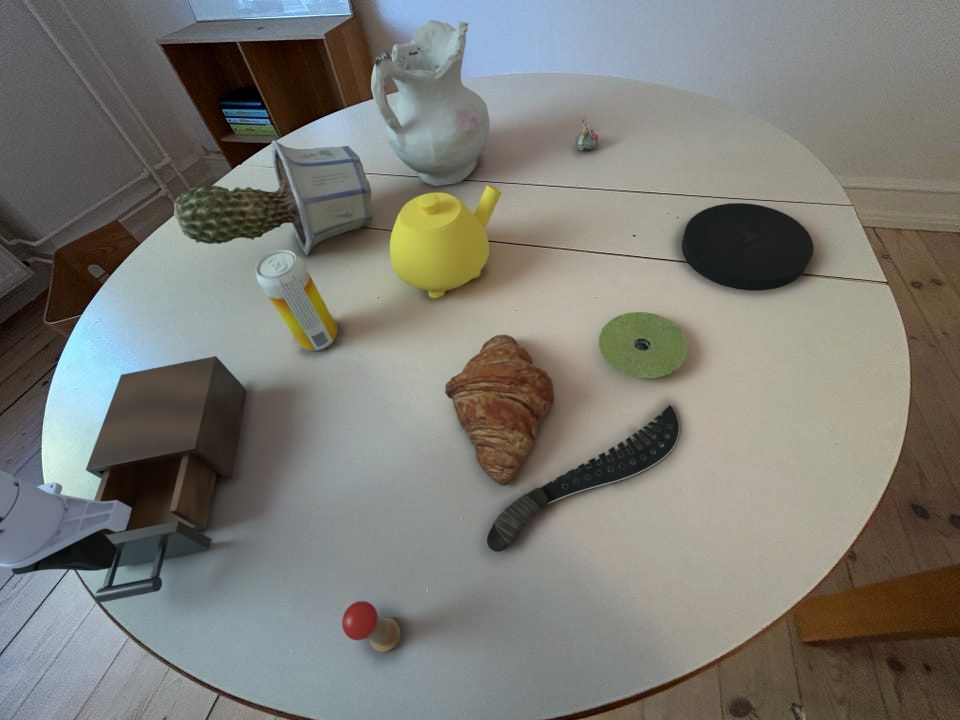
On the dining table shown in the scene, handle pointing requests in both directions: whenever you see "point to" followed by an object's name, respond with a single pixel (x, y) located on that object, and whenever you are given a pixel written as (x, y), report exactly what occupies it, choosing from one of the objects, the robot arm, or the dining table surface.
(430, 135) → the ceramic pitcher
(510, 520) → the knife
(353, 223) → the potted plant
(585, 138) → the figurine
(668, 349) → the green disc
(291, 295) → the yellow two-tone cylinder
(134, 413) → the cabinet
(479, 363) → the pastry
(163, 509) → the drawer
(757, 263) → the wireless charger
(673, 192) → the dining table surface
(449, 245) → the teapot
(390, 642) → the flanged wooden peg
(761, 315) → the dining table surface
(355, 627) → the ball
